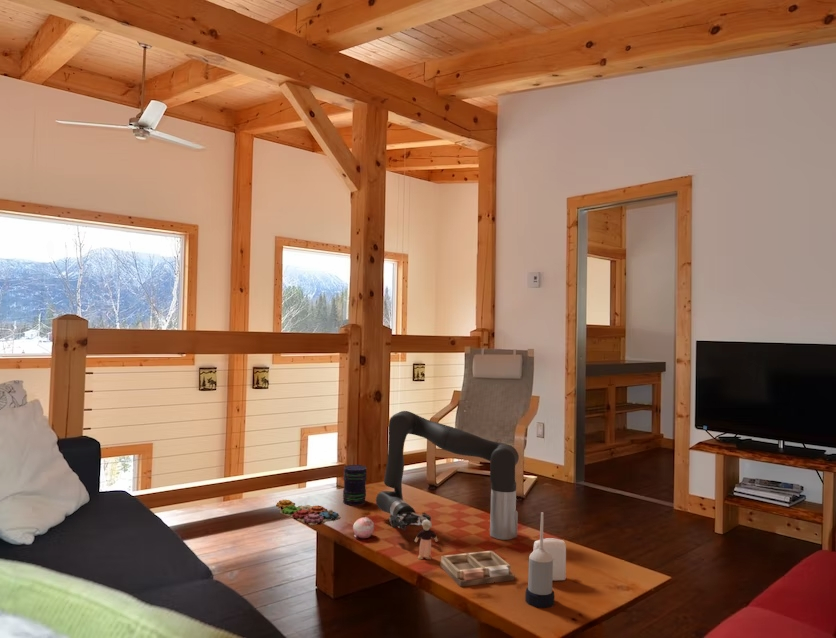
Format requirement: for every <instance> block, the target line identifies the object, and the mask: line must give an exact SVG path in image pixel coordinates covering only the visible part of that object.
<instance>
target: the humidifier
mask: <svg viewBox="0 0 836 638" xmlns="http://www.w3.org/2000/svg"><path fill="white" fill-rule="evenodd" d="M539 525H540V527H539V528H540V529H539V540H540V547H539V548H538V549H536V550H534V551H532V552H531V553H529V557H528V578H527V579H528V580H527V581H528V582H527V583H528V585H527V587H526V588H525V597H524V598H525V602H526V604H527V605H528V606H531V607H535V608H537V609H539V608H541V609H548V608H551V607H553V606H554V605H555V591H554V590H553V580H552V578H553V558H552V556H551V555H550V553H549V552H548V551H546V550H544V548H543V539H544V512H540V524H539Z"/></svg>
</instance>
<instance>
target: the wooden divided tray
mask: <svg viewBox="0 0 836 638" xmlns="http://www.w3.org/2000/svg"><path fill="white" fill-rule="evenodd" d="M440 557H441V558H440V565H439V566H440V568H441V569H443V570H444V572H445V573H446V574H447V575H448V576H449V577H450V578H451V579H452V580H453V581H454V582H455V583H456V584H457V585H458V586H459V587H460V588H461V587H469V586H477V585H485V584H486V583H487V584H494V582H495V583H500V582H508V581H509V582H510V580H511V581H515V574H514V573H512V572H511V564H509V563H508V562H507V561H506V560H504V559H503V558H502V557H501V556H499V555H498V554H497V553H495V552H494V550H486V551H477V552H476V551H475V552H465V553H457V554H445V555H441V556H440Z"/></svg>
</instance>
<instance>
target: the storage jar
mask: <svg viewBox="0 0 836 638" xmlns="http://www.w3.org/2000/svg"><path fill="white" fill-rule="evenodd" d="M343 469H344V470H343V481H344V485H343V490H342V499H343V501H342V503H343V504H344V505H347V506H361V505H364V504H366V497H367V489H366V481H367V466H365V465H361V464H348V465H345V466H344V467H343Z"/></svg>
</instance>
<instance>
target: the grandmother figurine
mask: <svg viewBox="0 0 836 638" xmlns="http://www.w3.org/2000/svg"><path fill="white" fill-rule="evenodd" d="M432 525H433V524H432V521H431V522H430V521H429V520H428V519H427V520H424V521H422V525H421V526H422V528H423V529H421V530H420V531H418V533H417V534H416V535H415V536H416V537H415V539H414V542H415V543H417V542H418V541H419V539H420V542H419V549H418V550H419V553H418V556H417V559H418V560H424V559H426V560H431V559H432V556H431V552H432V538H433V539H434V542H438V541H439V539H438V537H437V533H435V532H434V531H433V530H431V528H432V527H433V526H432Z"/></svg>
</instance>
